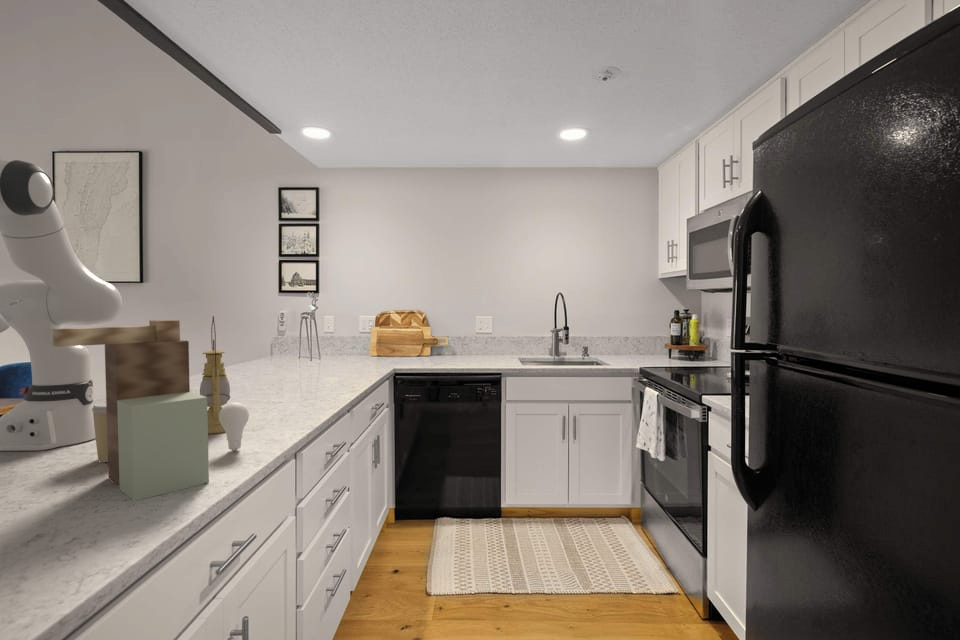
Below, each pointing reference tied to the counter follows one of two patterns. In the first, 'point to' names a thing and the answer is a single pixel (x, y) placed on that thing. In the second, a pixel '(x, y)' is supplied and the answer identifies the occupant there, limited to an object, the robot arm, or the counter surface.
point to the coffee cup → (101, 430)
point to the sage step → (162, 443)
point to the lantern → (214, 387)
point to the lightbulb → (234, 423)
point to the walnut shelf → (141, 381)
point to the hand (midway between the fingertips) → (28, 302)
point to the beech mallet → (118, 334)
